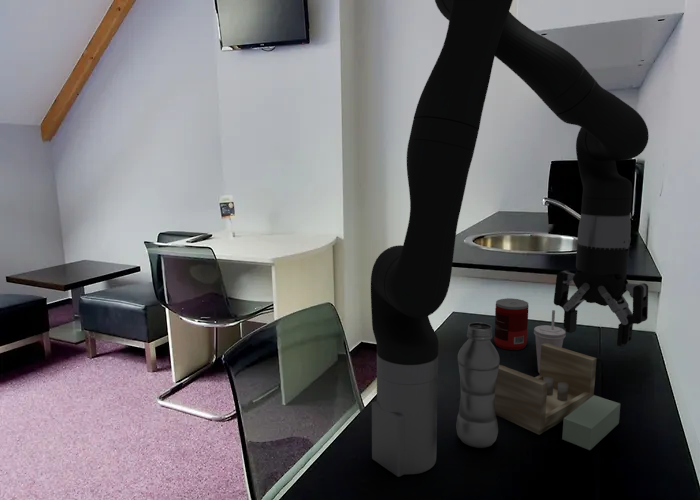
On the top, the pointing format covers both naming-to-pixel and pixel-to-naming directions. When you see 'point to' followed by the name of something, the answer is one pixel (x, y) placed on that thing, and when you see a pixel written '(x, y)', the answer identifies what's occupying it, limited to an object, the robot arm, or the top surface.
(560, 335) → the smoothie
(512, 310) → the canned food
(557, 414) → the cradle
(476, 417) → the plastic bottle
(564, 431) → the grey-green rectangular block
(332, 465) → the top surface
